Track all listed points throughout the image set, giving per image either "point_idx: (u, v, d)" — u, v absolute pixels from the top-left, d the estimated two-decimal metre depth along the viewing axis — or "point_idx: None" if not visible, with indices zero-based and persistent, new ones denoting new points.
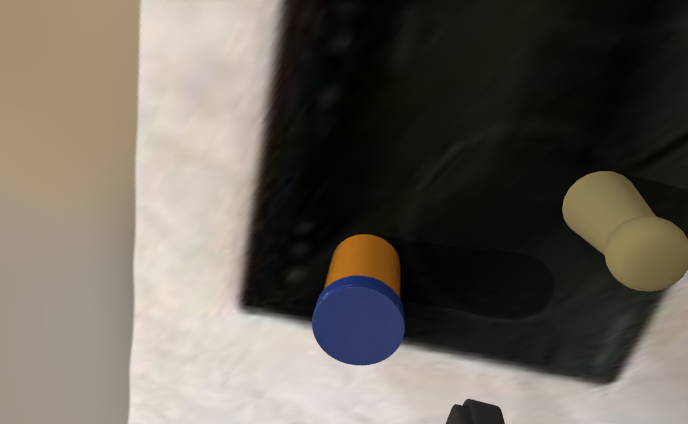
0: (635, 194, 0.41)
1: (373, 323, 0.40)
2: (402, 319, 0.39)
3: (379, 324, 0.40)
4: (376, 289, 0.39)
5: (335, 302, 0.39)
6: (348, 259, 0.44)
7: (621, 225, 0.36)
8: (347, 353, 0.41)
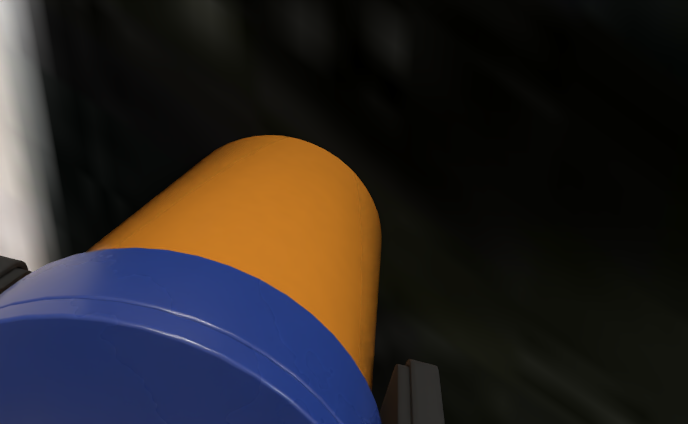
0: None
1: None
2: None
3: None
4: None
5: None
6: (362, 273, 0.11)
7: None
8: None
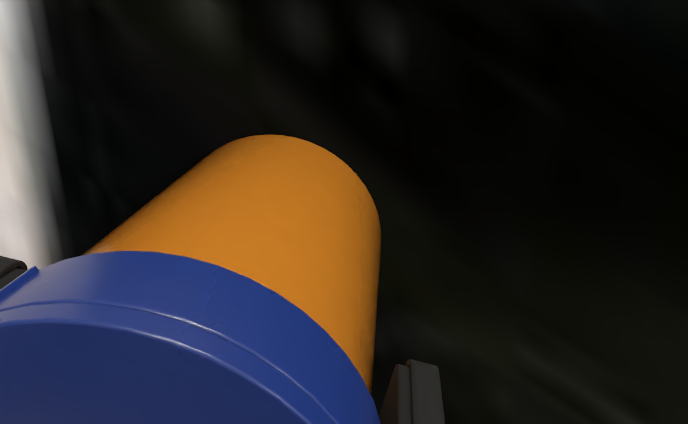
0: None
1: None
2: (236, 371, 0.06)
3: None
4: None
5: None
6: (361, 269, 0.11)
7: None
8: None
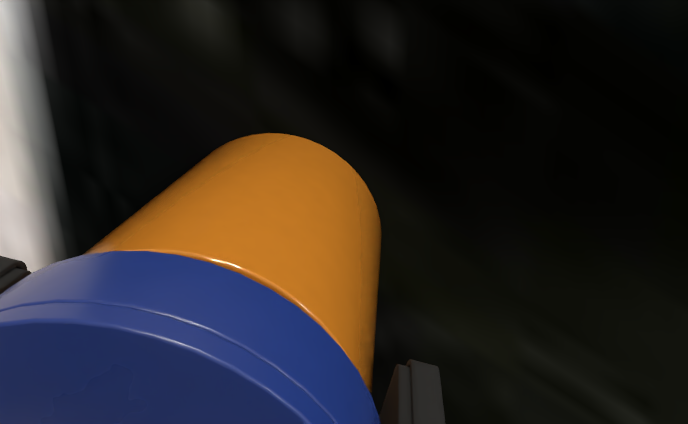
0: None
1: None
2: None
3: None
4: None
5: None
6: (361, 264, 0.11)
7: None
8: (176, 415, 0.06)
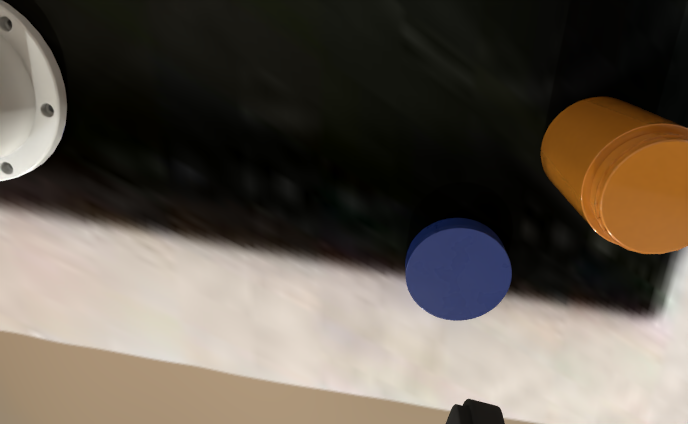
0: None
1: (439, 279, 0.36)
2: (406, 279, 0.36)
3: (433, 277, 0.36)
4: None
5: (476, 306, 0.36)
6: (564, 191, 0.30)
7: None
8: (477, 245, 0.34)
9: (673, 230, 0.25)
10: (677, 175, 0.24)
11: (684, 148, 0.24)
